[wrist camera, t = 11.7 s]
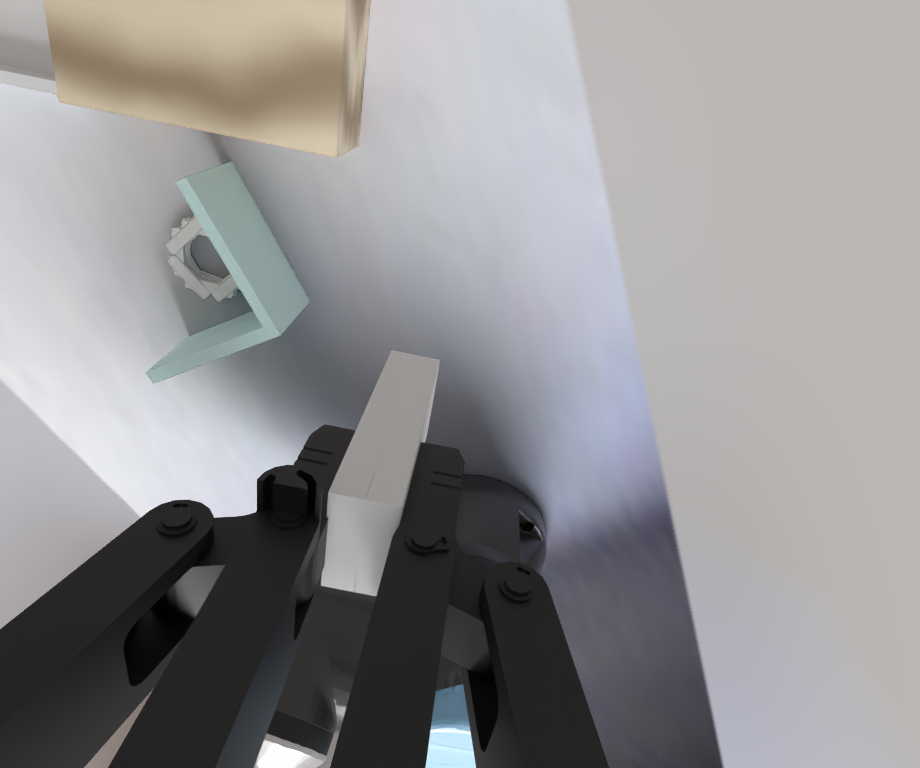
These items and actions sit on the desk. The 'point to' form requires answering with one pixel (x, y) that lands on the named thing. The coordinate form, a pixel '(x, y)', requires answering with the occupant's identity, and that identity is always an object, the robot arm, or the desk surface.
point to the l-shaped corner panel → (230, 270)
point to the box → (25, 46)
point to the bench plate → (219, 65)
